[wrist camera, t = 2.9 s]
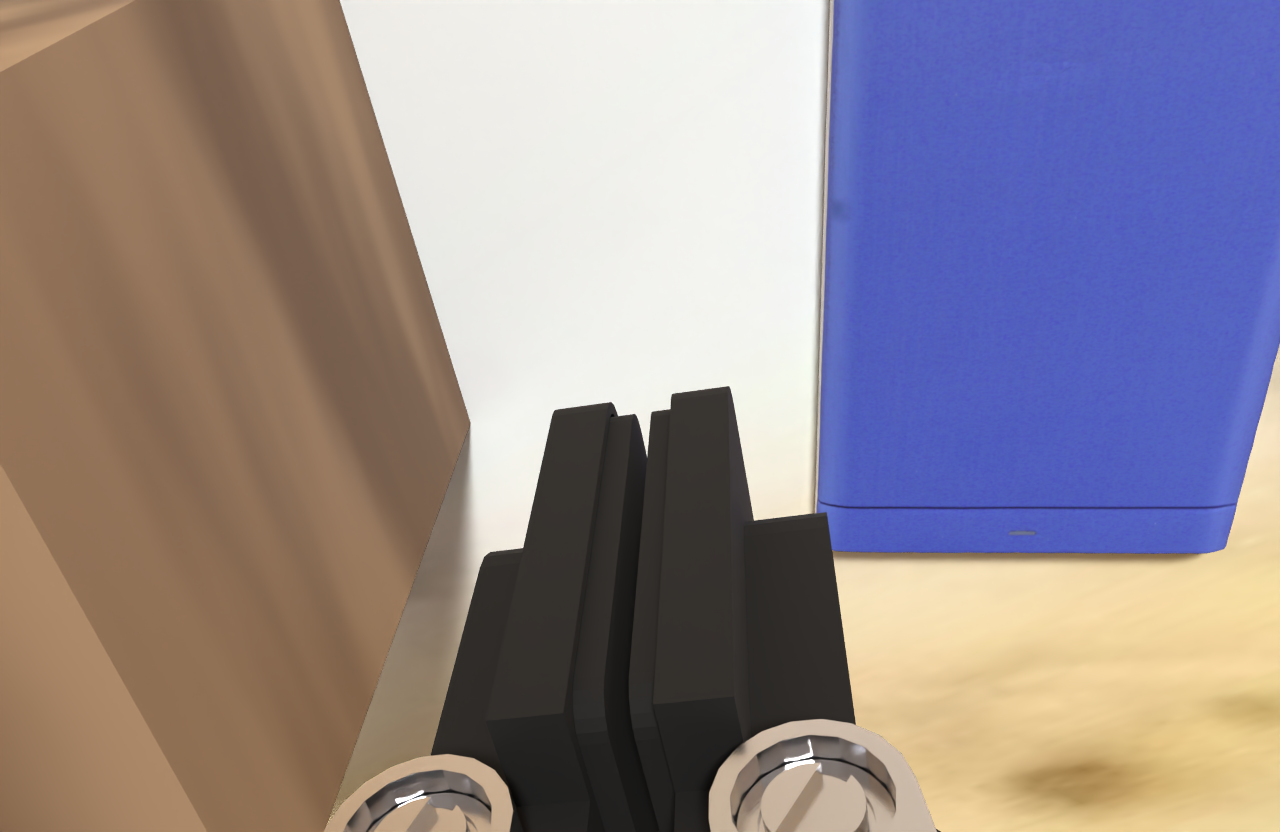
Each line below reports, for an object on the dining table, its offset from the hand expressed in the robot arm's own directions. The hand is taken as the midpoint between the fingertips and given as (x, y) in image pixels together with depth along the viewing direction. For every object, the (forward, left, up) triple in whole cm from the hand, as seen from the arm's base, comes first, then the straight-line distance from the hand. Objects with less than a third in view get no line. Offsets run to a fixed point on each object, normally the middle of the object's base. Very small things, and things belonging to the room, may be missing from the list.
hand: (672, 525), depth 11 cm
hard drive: (-6, +3, -12) cm, 14 cm away
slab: (+8, 0, -11) cm, 13 cm away
